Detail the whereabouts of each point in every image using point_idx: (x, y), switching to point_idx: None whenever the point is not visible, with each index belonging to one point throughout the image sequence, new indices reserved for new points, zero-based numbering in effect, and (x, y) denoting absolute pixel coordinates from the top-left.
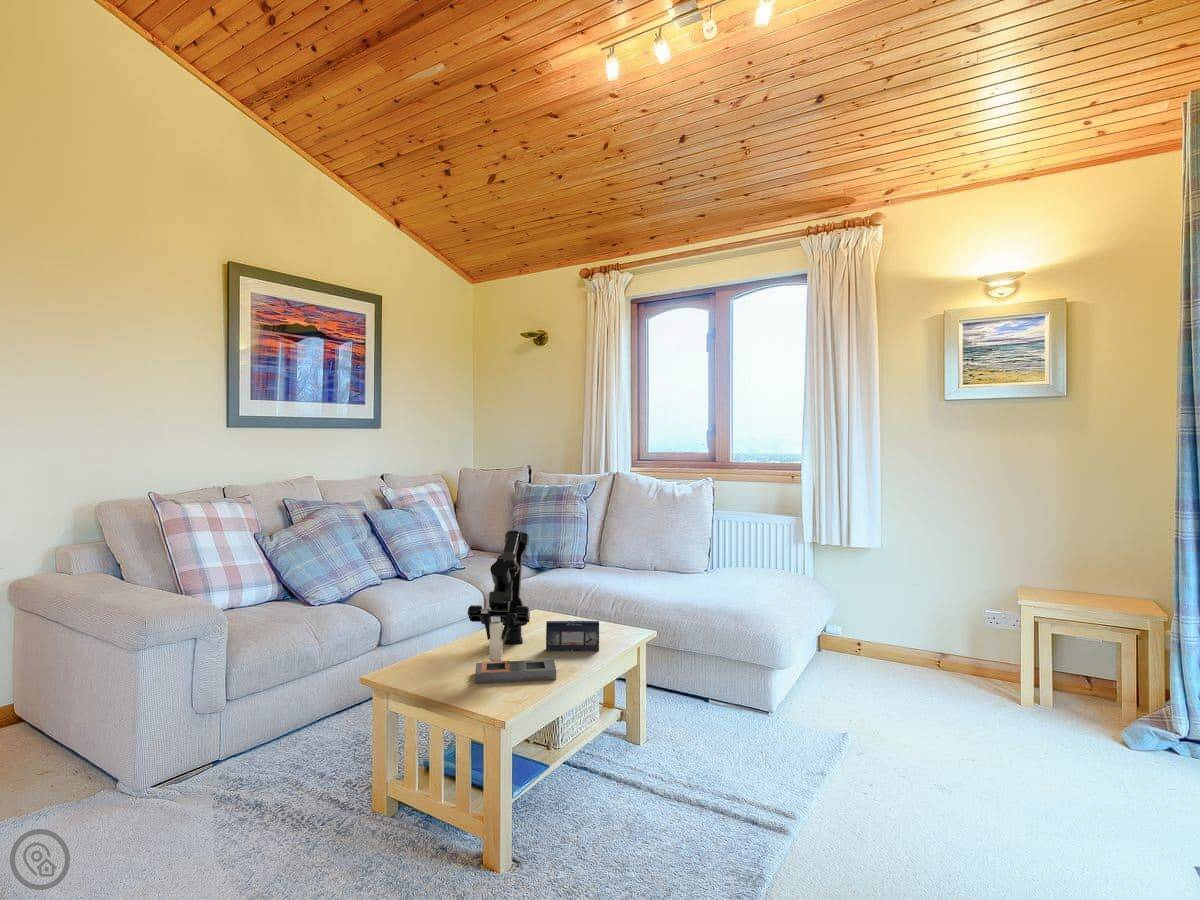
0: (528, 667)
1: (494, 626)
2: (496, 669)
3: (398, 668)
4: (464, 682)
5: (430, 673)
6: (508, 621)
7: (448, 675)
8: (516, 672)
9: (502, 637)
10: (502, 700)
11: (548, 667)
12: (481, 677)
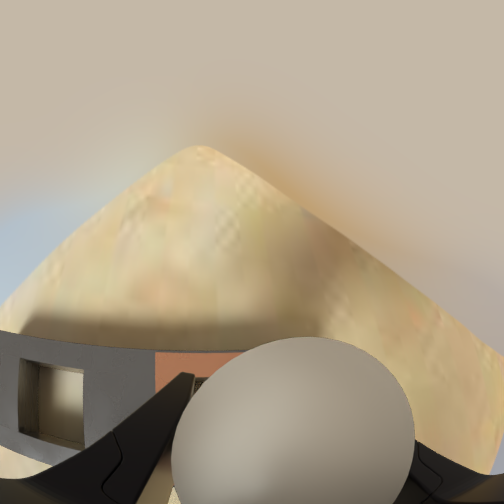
0: (83, 446)
1: (322, 342)
2: None
3: (496, 436)
4: None
5: (443, 428)
6: (63, 493)
7: None
8: (129, 349)
9: (187, 375)
10: (196, 218)
11: (9, 362)
12: None
